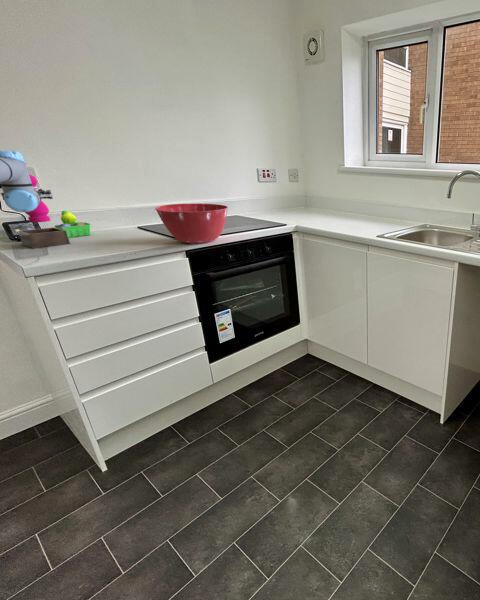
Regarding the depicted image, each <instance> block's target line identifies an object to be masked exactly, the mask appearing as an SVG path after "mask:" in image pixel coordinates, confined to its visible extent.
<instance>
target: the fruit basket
mask: <svg viewBox="0 0 480 600" xmlns="http://www.w3.org/2000/svg"><path fill="white" fill-rule="evenodd" d="M60 220H61V222H62V223H60V224H56V225H54V227H55V228H58V229H62V230H66V233H67V236H68V238H76V237H83V236H90V235H91V225H92V224H91V223H88V222H81V221H79V222H78V221H77V216H76V215H74V214H73V213H72V212H71V211H69V210H62V211H61V216H60Z"/></svg>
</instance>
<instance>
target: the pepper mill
mask: <svg viewBox="0 0 480 600" xmlns="http://www.w3.org/2000/svg"><path fill="white" fill-rule="evenodd" d="M29 176H30V179H31V182H32V185H33V188H34V189H35V190H36V191H38V190H39V188H38V187H39V186H37V184H38V179H37V178H36V176H34V175H32V174H30V173H29ZM24 213H25V214H26V215H28V218H27V219H28V221H29V223H47V222H51V217H50V215H48V214H49V213H50V209H49V207H48V206H47V204H45V202H44V201H43V199H41V202H40V203H39V204H38V206H37V208H36V209H35V210H33V211H30V212H24Z"/></svg>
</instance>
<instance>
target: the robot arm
mask: <svg viewBox="0 0 480 600" xmlns="http://www.w3.org/2000/svg"><path fill="white" fill-rule="evenodd" d="M29 174H30V173H29V171H28V167H27V162H26V161H25V160H24V157H23V154H22V153H21V152H19V151H17V150H0V187H1V190H2V192H1V193H0V195H1V198H2V200H3V201H4V203H5V205H6V206H7V207H8V208H9V209H11V210H12V211H15V212H18V213H25V212H30V211H33V210H35V209H36V208H37V206H38V204H39V203H40V202H41V200H43V199H45V200H53V199H54V198H53V194H52V192H51V190H50V189H47V190H44V189H42V188H38V190H37V191H36V190H35V189H34V188H33V185H32V182H31V179H30V176H29Z"/></svg>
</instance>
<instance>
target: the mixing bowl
mask: <svg viewBox="0 0 480 600" xmlns="http://www.w3.org/2000/svg"><path fill="white" fill-rule="evenodd" d="M228 209H229V207H228V206H227V205H224V204H217V203H173V204H164V205H158V206H156V207H155V208H154V210H155V211H156V212H157V214H158V216H159V219H160V220H161V222H162V224H163V225H164V227H165V228H166V230H167V231H168V232H169V233H170V235H171V236H172V237H173V238H175V239H176V240H178V241H180V242H181V243H183V244H189V245H194V244H195V245H199V244H201V245H202V244H208V243H212V242H214V241H216V240H217V239H219V237H221V234H222V232H223V230H224V228H225V225H226V220H227V215H228Z"/></svg>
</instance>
